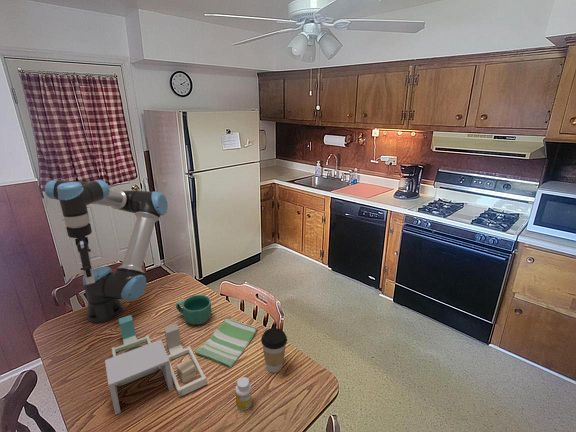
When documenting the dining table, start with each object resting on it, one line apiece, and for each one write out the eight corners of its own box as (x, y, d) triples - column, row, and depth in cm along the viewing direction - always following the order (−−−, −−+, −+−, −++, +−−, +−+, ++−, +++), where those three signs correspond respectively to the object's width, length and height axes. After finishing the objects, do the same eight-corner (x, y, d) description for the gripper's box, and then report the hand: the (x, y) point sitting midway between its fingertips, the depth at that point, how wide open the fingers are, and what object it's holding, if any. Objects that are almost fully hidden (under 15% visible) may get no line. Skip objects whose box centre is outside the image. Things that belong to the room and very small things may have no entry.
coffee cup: (290, 360, 125) (290, 330, 120) (281, 379, 116) (281, 347, 111) (267, 354, 128) (267, 324, 123) (257, 372, 119) (256, 341, 114)
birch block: (177, 375, 118) (176, 365, 116) (189, 368, 121) (188, 358, 119) (183, 383, 114) (182, 373, 112) (196, 376, 117) (195, 365, 116)
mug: (216, 313, 152) (215, 297, 149) (203, 330, 141) (201, 313, 138) (186, 307, 156) (184, 291, 153) (171, 323, 145) (169, 306, 142)
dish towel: (193, 355, 128) (193, 350, 127) (226, 321, 148) (225, 316, 147) (230, 369, 121) (230, 364, 120) (259, 331, 141) (259, 326, 140)
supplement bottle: (236, 396, 109) (235, 375, 106) (252, 395, 110) (251, 374, 107) (235, 411, 104) (234, 389, 101) (251, 410, 105) (250, 388, 102)
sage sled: (110, 339, 134) (106, 322, 131) (145, 328, 141) (142, 311, 138) (118, 386, 112) (114, 367, 109) (159, 369, 119) (156, 351, 116)
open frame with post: (160, 347, 130) (157, 329, 127) (184, 338, 136) (182, 321, 132) (179, 397, 108) (176, 377, 105) (207, 384, 114) (205, 365, 111)
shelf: (111, 388, 112) (104, 360, 107) (165, 366, 121) (161, 339, 117) (115, 414, 102) (108, 385, 98) (173, 388, 112) (169, 360, 108)
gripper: (65, 216, 122) (77, 264, 129) (65, 238, 103) (79, 293, 110) (88, 213, 126) (98, 259, 133) (92, 234, 107) (103, 287, 114)
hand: (89, 275), depth 122 cm, fingers open, 13 cm apart
